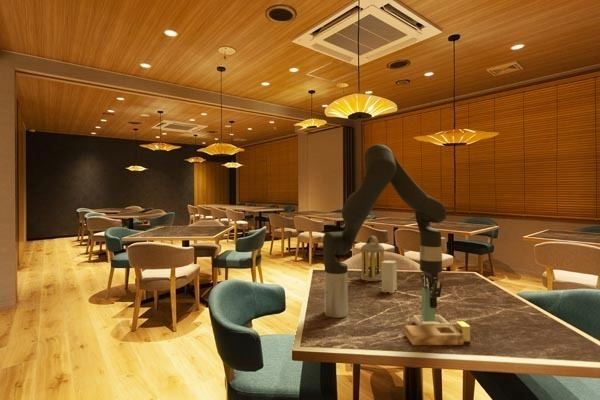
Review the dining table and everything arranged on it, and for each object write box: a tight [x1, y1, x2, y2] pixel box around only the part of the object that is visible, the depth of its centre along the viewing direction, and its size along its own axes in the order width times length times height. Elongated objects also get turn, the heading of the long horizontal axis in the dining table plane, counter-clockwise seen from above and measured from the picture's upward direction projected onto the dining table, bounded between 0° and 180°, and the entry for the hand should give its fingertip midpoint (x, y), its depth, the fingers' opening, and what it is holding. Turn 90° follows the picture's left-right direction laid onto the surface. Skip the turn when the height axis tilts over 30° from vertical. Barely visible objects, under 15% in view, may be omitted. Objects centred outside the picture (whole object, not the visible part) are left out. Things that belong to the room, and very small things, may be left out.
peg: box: [421, 287, 436, 321], centre depth 116 cm, size 4×4×11 cm
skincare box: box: [381, 259, 398, 294], centre depth 162 cm, size 8×6×15 cm
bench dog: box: [455, 321, 471, 343], centre depth 106 cm, size 2×4×5 cm, turn 0°
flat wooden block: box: [404, 324, 464, 346], centre depth 106 cm, size 16×8×3 cm, turn 90°
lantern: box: [359, 235, 385, 280], centre depth 186 cm, size 14×14×25 cm
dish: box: [412, 314, 451, 325], centre depth 117 cm, size 10×9×2 cm
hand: (431, 305), depth 116 cm, fingers closed on peg, 3 cm apart
